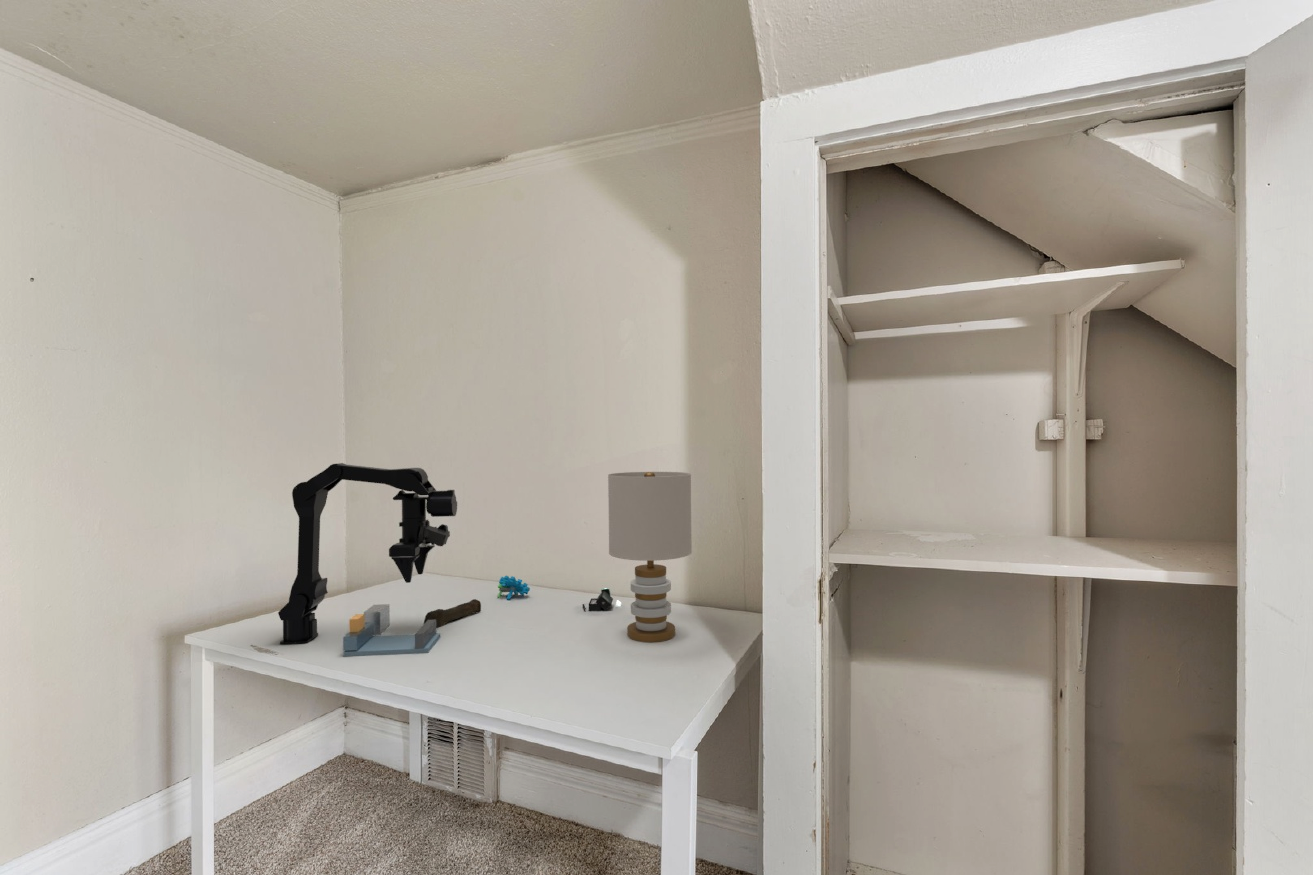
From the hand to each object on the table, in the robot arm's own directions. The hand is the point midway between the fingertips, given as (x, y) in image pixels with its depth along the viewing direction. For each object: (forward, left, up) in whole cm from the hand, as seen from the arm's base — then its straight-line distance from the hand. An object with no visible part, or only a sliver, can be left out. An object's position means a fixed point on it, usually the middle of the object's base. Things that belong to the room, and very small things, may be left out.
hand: (414, 578), depth 154 cm
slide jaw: (-11, -8, -13) cm, 19 cm away
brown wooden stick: (+7, +11, -15) cm, 20 cm away
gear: (+20, +34, -15) cm, 42 cm away
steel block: (-11, +5, -15) cm, 19 cm away
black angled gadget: (+47, +18, -15) cm, 53 cm away
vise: (-3, -8, -14) cm, 17 cm away
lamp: (+60, -7, -15) cm, 62 cm away
